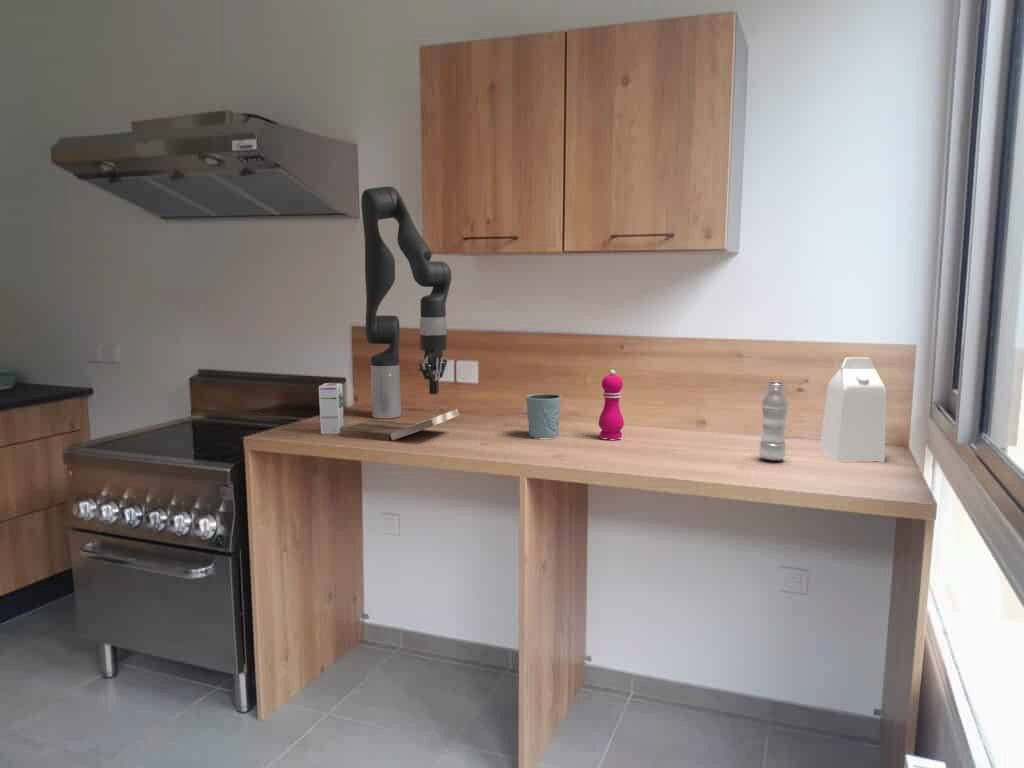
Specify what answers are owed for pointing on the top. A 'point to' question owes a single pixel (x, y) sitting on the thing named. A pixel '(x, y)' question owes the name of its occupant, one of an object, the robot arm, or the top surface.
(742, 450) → the top surface
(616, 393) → the pepper mill
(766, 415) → the plastic bottle
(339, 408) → the syrup box
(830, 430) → the milk
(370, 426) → the planks
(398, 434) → the beige flat block
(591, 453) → the top surface
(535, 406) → the blue planter pot
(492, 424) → the top surface
